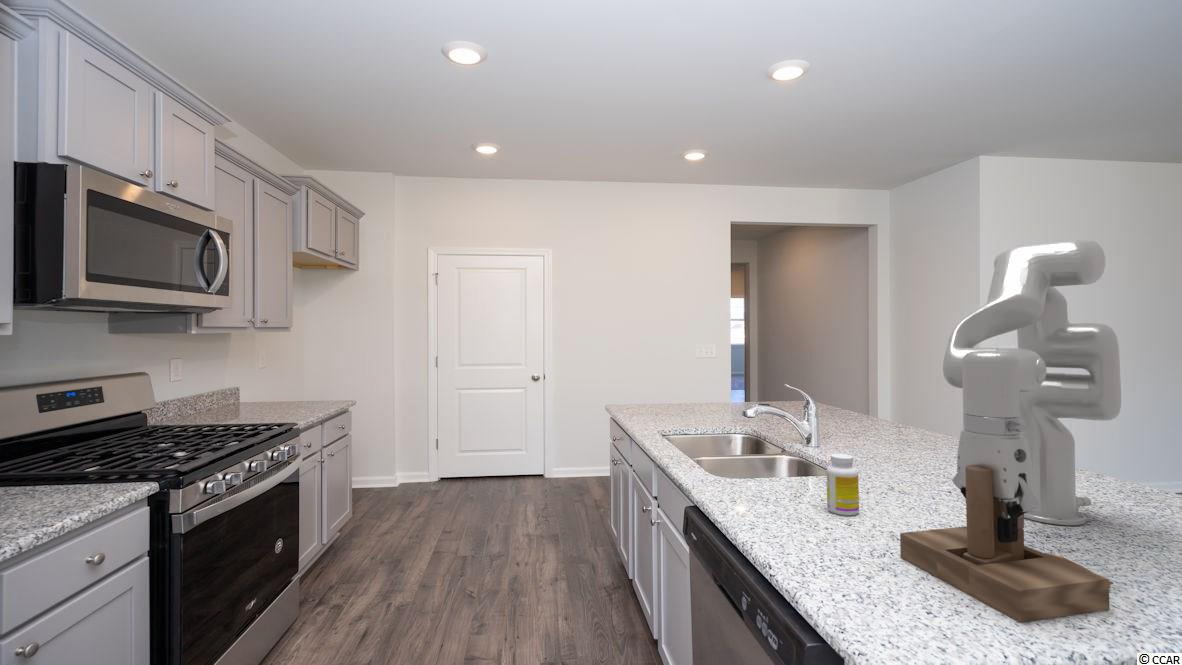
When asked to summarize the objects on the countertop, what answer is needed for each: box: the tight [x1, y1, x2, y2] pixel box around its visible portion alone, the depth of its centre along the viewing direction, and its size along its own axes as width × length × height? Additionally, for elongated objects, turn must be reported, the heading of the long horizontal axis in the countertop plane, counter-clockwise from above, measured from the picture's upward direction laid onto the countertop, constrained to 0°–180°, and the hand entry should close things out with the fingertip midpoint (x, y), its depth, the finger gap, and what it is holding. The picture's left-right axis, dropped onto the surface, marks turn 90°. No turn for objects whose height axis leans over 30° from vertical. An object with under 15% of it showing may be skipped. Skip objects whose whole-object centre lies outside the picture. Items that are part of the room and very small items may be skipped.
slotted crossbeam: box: [899, 525, 1111, 623], centre depth 86 cm, size 16×22×4 cm
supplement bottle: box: [826, 453, 860, 517], centre depth 120 cm, size 7×7×13 cm
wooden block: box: [963, 465, 1025, 565], centre depth 86 cm, size 4×11×18 cm, turn 114°
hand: (993, 534), depth 86 cm, fingers closed on wooden block, 4 cm apart
